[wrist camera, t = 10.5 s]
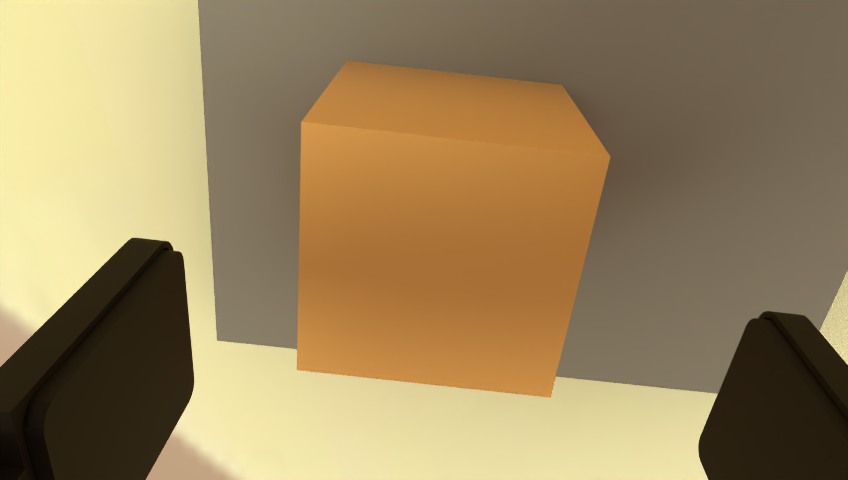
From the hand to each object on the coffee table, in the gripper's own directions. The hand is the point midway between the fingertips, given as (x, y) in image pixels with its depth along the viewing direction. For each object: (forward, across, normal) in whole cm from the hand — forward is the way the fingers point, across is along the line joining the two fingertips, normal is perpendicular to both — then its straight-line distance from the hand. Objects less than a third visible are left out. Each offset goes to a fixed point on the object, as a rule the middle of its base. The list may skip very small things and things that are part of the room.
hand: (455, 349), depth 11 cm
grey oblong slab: (+11, -2, +1) cm, 11 cm away
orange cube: (+9, 0, 0) cm, 9 cm away
